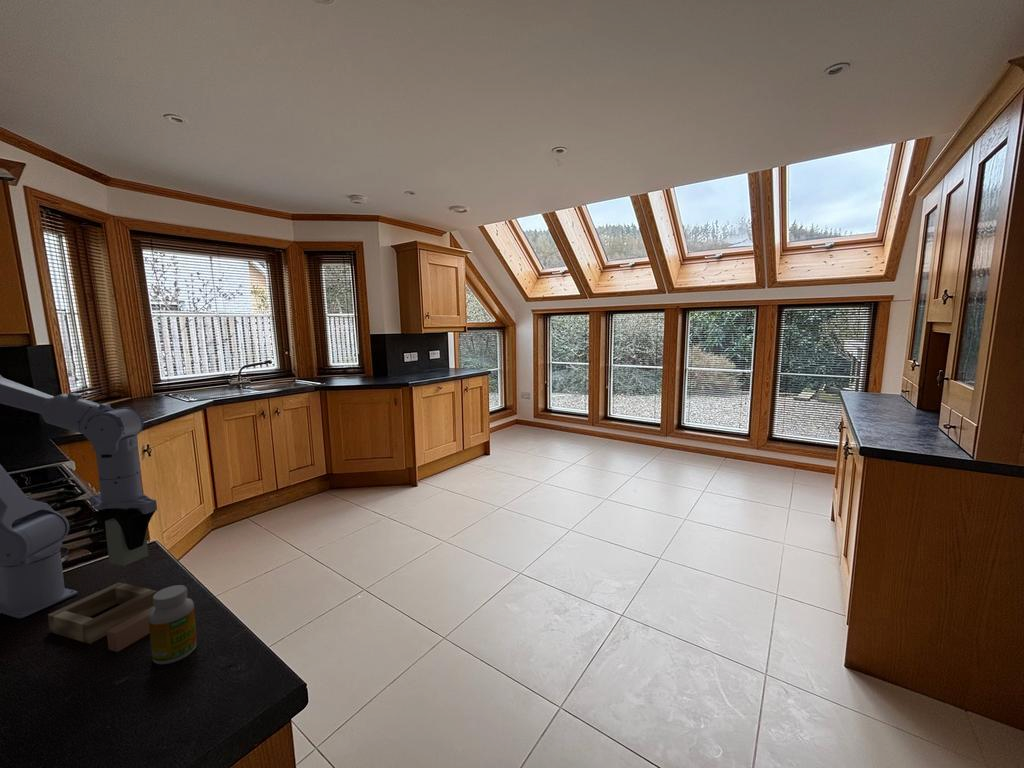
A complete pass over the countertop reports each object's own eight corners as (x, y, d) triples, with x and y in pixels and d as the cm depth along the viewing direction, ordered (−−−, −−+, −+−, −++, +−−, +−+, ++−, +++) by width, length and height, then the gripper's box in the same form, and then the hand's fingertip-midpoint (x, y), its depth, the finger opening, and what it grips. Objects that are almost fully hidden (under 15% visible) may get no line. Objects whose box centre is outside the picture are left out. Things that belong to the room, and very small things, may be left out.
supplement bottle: (172, 668, 62) (167, 604, 62) (142, 663, 64) (136, 600, 63) (206, 642, 68) (201, 583, 67) (177, 638, 69) (172, 580, 68)
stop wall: (108, 649, 66) (106, 631, 66) (176, 610, 76) (174, 594, 76) (117, 652, 66) (115, 633, 66) (184, 612, 75) (182, 596, 75)
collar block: (49, 632, 71) (47, 614, 70) (120, 597, 80) (118, 582, 80) (90, 644, 68) (88, 625, 67) (158, 606, 77) (157, 590, 77)
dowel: (109, 562, 80) (104, 521, 79) (133, 552, 83) (129, 512, 83) (124, 565, 78) (120, 523, 78) (148, 555, 82) (144, 514, 81)
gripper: (66, 478, 78) (74, 550, 79) (122, 485, 73) (130, 561, 75) (112, 467, 84) (119, 534, 86) (166, 473, 80) (172, 543, 81)
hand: (127, 546), depth 81 cm, fingers closed on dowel, 4 cm apart
